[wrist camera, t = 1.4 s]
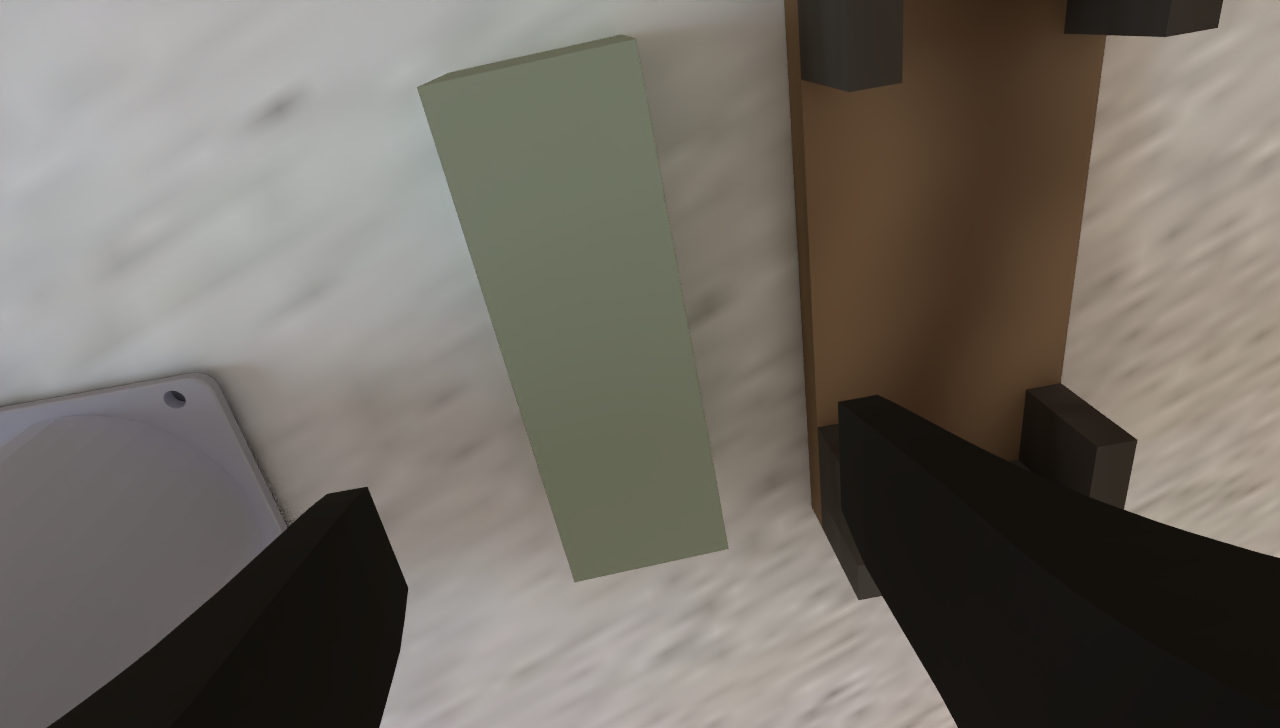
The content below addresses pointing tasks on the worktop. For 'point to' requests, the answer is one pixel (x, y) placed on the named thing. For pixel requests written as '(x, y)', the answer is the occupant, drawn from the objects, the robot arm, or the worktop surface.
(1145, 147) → the worktop surface
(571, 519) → the stone
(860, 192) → the end cap cradle
